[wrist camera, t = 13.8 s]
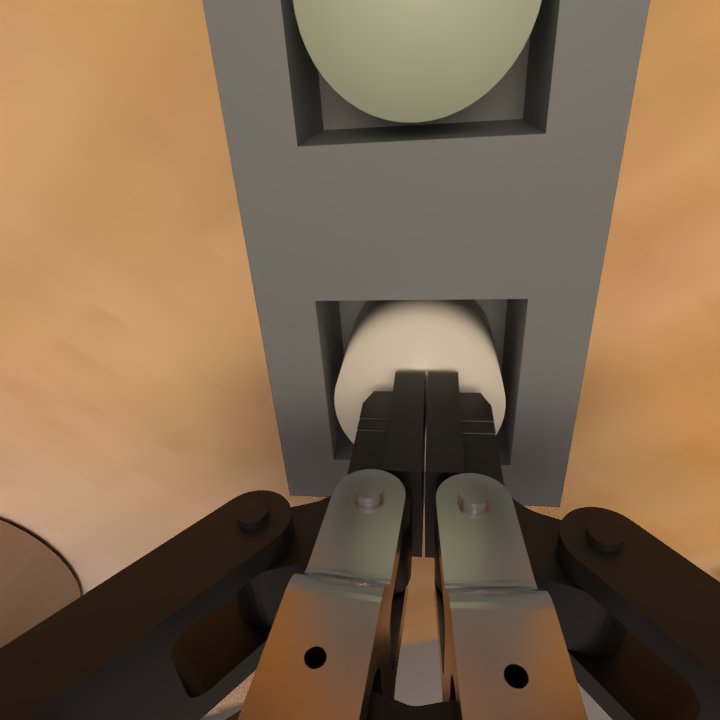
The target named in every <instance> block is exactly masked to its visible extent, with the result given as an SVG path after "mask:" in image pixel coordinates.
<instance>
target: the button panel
mask: <svg viewBox="0 0 720 720" xmlns="http://www.w3.org/2000/svg"><path fill="white" fill-rule="evenodd" d="M649 3H650V0H542V1H541V5H540V9H539V13H538V15H537V18H536V21H535V23H534V26H533V29H532V31H531V34H530V35H529V37H528V39H527V41H526V43H525V45H524V47H523V49H522V51H521V53H520V54H519V56H518V57H517V59H516V60H515V62H514V63H513V65H512V66H511V67H510V69H509V70H508V71H507V72H506V74H505V75H504V76H503V77H502V79H501V80H500V81H499V82H498V83H497V84H496V85H495V86H494V87H493V88H492V89H491V90H489V91H488V92H487V93H486V94H485V95H483V96H482V97H481V98H479V99H478V100H477V101H476V102H474V103H472V104H471V105H469V106H467V107H466V108H464V109H462V110H460V111H458V112H456V113H453V114H451V115H449V116H446V117H443V118H439V119H435V120H432V121H425V122H417V123H410V122H396V121H390V120H385V119H382V118H379V117H376V116H373V115H370V114H368V113H366V112H364V111H362V110H360V109H358V108H357V107H355V106H354V105H352V104H351V103H349V102H348V101H346V100H345V99H344V98H343V97H342V96H341V95H339V94H338V93H337V92H336V91H335V90H334V89H333V88H332V87H331V86H330V84H329V83H328V82H327V81H326V80H325V79H324V78H323V76H322V75H321V73H320V72H319V70H318V69H317V67H316V66H315V64H314V62H313V61H312V59H311V57H310V55H309V53H308V51H307V49H306V47H305V44H304V42H303V39H302V36H301V34H300V31H299V27H298V23H297V20H296V16H295V10H294V4H293V0H203V6H204V12H205V17H206V23H207V29H208V34H209V40H210V46H211V51H212V57H213V63H214V68H215V74H216V80H217V85H218V91H219V96H220V102H221V108H222V113H223V119H224V125H225V130H226V136H227V142H228V147H229V153H230V159H231V164H232V170H233V176H234V181H235V187H236V193H237V198H238V204H239V209H240V215H241V221H242V226H243V232H244V238H245V243H246V249H247V255H248V260H249V266H250V272H251V277H252V283H253V289H254V294H255V300H256V306H257V311H258V317H259V322H260V328H261V334H262V339H263V345H264V351H265V356H266V362H267V368H268V373H269V379H270V385H271V390H272V396H273V402H274V407H275V413H276V419H277V424H278V430H279V435H280V441H281V447H282V452H283V458H284V464H285V469H286V475H287V481H288V486H289V492H290V495H296V496H319V497H329V496H331V495H332V493H333V490H334V488H335V486H336V485H337V483H338V482H339V481H340V480H341V479H342V478H344V477H345V476H347V474H348V470H349V465H350V460H351V456H352V451H353V446H354V444H353V443H352V442H351V440H350V439H349V438H348V437H347V435H346V434H345V432H344V431H343V429H342V427H341V425H340V423H339V421H338V418H337V415H336V410H335V404H334V394H335V387H336V384H337V380H338V377H339V374H340V370H341V367H342V364H343V360H344V357H345V354H346V350H347V347H348V344H349V340H350V337H351V334H352V330H353V327H354V324H355V321H356V318H357V316H358V314H359V313H360V311H361V309H362V308H363V306H364V305H365V304H366V303H367V302H368V301H369V300H465V299H474V300H475V301H476V302H477V303H478V305H479V306H480V307H481V308H482V310H483V311H484V313H485V315H486V317H487V319H488V321H489V324H490V327H491V331H492V335H493V340H494V345H495V349H496V354H497V358H498V363H499V368H500V372H501V377H502V382H503V386H504V391H505V398H506V409H505V414H504V419H503V422H502V424H501V427H500V429H499V431H498V433H497V435H496V437H497V444H498V450H499V456H500V463H501V469H502V475H503V481H504V485H505V487H506V489H507V490H508V491H509V493H510V494H511V496H512V497H513V498H514V499H515V500H516V501H517V502H518V503H519V504H521V505H525V506H547V507H560V503H561V497H562V492H563V486H564V480H565V475H566V469H567V464H568V458H569V452H570V447H571V441H572V436H573V430H574V424H575V419H576V413H577V407H578V402H579V396H580V391H581V385H582V379H583V374H584V368H585V363H586V357H587V351H588V346H589V340H590V335H591V329H592V323H593V318H594V312H595V306H596V301H597V295H598V290H599V284H600V278H601V273H602V267H603V262H604V256H605V250H606V245H607V239H608V233H609V228H610V222H611V217H612V211H613V205H614V200H615V194H616V189H617V183H618V177H619V172H620V166H621V160H622V155H623V149H624V144H625V138H626V132H627V127H628V121H629V116H630V110H631V104H632V99H633V93H634V88H635V82H636V76H637V71H638V65H639V59H640V54H641V48H642V43H643V37H644V31H645V26H646V20H647V15H648V9H649ZM424 501H425V471H424Z"/></svg>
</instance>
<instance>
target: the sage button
mask: <svg viewBox="0 0 720 720" xmlns="http://www.w3.org/2000/svg"><path fill="white" fill-rule="evenodd" d="M541 1H542V0H293V4H294V10H295V16H296V20H297V23H298V27H299V31H300V34H301V36H302V39H303V42H304V44H305V47H306V49H307V51H308V53H309V55H310V57H311V59H312V61H313V62H314V64H315V66H316V67H317V69H318V70H319V72H320V73H321V75H322V76H323V78H324V79H325V80H326V81H327V82H328V83H329V84H330V86H331V87H332V88H333V89H334V90H335V91H336V92H337V93H338V94H339V95H341V96H342V97H343V98H344V99H345V100H346V101H348V102H349V103H351V104H352V105H354V106H355V107H357V108H358V109H360V110H362V111H364V112H366V113H368V114H370V115H373V116H376V117H379V118H382V119H385V120H390V121H396V122H410V123H417V122H425V121H432V120H435V119H439V118H443V117H446V116H449V115H451V114H453V113H456V112H458V111H460V110H462V109H464V108H466V107H467V106H469V105H471V104H472V103H474V102H476V101H477V100H478V99H479V98H481V97H482V96H483V95H485V94H486V93H487V92H488V91H489V90H491V89H492V88H493V87H494V86H495V85H496V84H497V83H498V82H499V81H500V80H501V79H502V77H503V76H504V75H505V74H506V72H507V71H508V70H509V69H510V67H511V66H512V65H513V63H514V62H515V60H516V59H517V57H518V56H519V54H520V53H521V51H522V49H523V47H524V45H525V43H526V41H527V39H528V37H529V35H530V34H531V31H532V29H533V26H534V23H535V21H536V18H537V15H538V13H539V9H540V5H541Z"/></svg>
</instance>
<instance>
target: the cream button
mask: <svg viewBox="0 0 720 720" xmlns="http://www.w3.org/2000/svg"><path fill="white" fill-rule="evenodd" d="M396 371H415V372H425V461H426V424H427V387H428V372H458V378H459V392H462V393H481V394H482V395H483V396H484V398H485V399H486V400H487V401H488V402H489V403H490V405H491V406H492V412H493V418H494V425H495V431H496V435H497V433H498V431H499V429H500V427H501V424H502V422H503V419H504V414H505V409H506V398H505V391H504V386H503V382H502V377H501V372H500V368H499V363H498V358H497V354H496V349H495V345H494V340H493V335H492V331H491V327H490V324H489V321H488V319H487V317H486V315H485V313H484V311H483V310H482V308H481V307H480V306H479V305H478V303H477V302H476V301H475V300H474V299H465V300H369V301H368V302H367V303H366V304H365V305H364V306H363V308H362V309H361V311H360V313H359V314H358V316H357V318H356V321H355V324H354V327H353V330H352V334H351V337H350V340H349V344H348V347H347V350H346V354H345V357H344V360H343V364H342V367H341V370H340V374H339V377H338V380H337V384H336V387H335V394H334V404H335V410H336V415H337V418H338V421H339V423H340V425H341V427H342V429H343V431H344V432H345V434H346V435H347V437H348V438H349V439H350V440H351V442H352V443H353V444H354V441H355V437H356V432H357V427H358V423H359V420H360V413H361V409H362V404H363V402H364V401H365V400H366V399H367V398H368V397H369V396H370V395H371V394H372V393H373V391H393V387H394V379H395V372H396ZM424 471H425V470H424Z"/></svg>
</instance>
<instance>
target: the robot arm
mask: <svg viewBox="0 0 720 720" xmlns="http://www.w3.org/2000/svg"><path fill="white" fill-rule="evenodd" d="M424 470H425V557H434V558H435V607H436V620H437V632H438V644H439V657H440V669H441V680H442V698H443V702H440V703H435V704H429V705H424V706H410V705H406V704H404V703H401V702H399V701H396V700H394V694H395V683H396V675H397V668H398V660H399V653H400V646H401V639H402V632H403V624H404V617H405V610H406V603H407V596H408V583H409V580H410V576H411V562H412V556H414V557H422V539H423V505H424ZM80 595H81V593H80V590H79V587H78V584H77V581H76V579H75V578H74V576H73V574H72V573H71V571H70V569H69V568H68V567H67V566H66V565H65V563H64V562H63V561H62V560H61V559H60V558H59V557H58V556H57V555H56V554H55V553H54V552H53V551H51V550H50V549H49V548H48V547H47V546H46V545H44V544H43V543H42V542H40V541H39V540H37V539H36V538H34V537H33V536H31V535H30V534H28V533H27V532H25V531H23V530H21V529H19V528H17V527H15V526H13V525H11V524H9V523H7V522H4V521H1V520H0V720H200V719H201V718H202V717H204V716H205V715H206V714H207V713H208V712H209V711H210V710H211V709H212V708H214V707H215V706H216V705H217V704H218V703H219V702H220V701H221V700H223V699H224V698H225V697H226V696H227V695H228V694H229V693H230V692H231V691H233V690H234V689H235V688H236V687H237V686H238V685H239V684H240V683H241V682H243V681H244V680H245V679H246V678H247V677H248V676H249V675H250V674H252V673H253V672H254V671H255V670H256V672H255V674H254V677H253V680H252V682H251V685H250V688H249V691H248V693H247V696H246V699H245V701H244V704H243V707H242V710H240V711H239V712H237V713H235V714H234V715H232V716H231V717H229V718H227V719H226V720H588V717H587V714H586V710H585V707H584V704H583V701H582V697H581V694H580V691H579V687H578V684H577V682H578V683H579V684H580V686H581V687H582V688H583V689H584V690H585V691H586V692H587V693H588V694H589V695H590V696H591V697H592V698H593V699H594V700H595V701H596V702H597V704H599V705H600V707H601V708H602V709H603V710H604V711H605V712H606V713H607V714H608V715H609V716H610V717H611V718H612V719H613V720H720V582H718V581H717V580H716V579H714V578H713V577H711V576H710V575H708V574H707V573H706V572H704V571H703V570H701V569H700V568H698V567H697V566H696V565H694V564H693V563H691V562H690V561H688V560H687V559H686V558H684V557H683V556H681V555H680V554H678V553H677V552H676V551H674V550H673V549H671V548H670V547H668V546H667V545H666V544H664V543H663V542H661V541H660V540H658V539H657V538H656V537H654V536H653V535H651V534H650V533H648V532H647V531H646V530H644V529H643V528H641V527H640V526H638V525H637V524H636V523H634V522H633V521H631V520H630V519H628V518H627V517H625V516H623V515H621V514H619V513H617V512H614V511H611V510H608V509H604V508H598V507H584V508H579V509H575V510H573V511H571V512H569V513H568V514H567V515H566V516H565V517H564V518H563V519H562V520H559V519H556V518H552V517H549V516H545V515H542V514H539V513H536V512H534V511H531V510H529V509H527V508H526V507H524V506H522V505H521V504H519V503H518V502H517V501H516V500H515V499H514V498H513V497H512V496H511V494H510V493H509V491H508V490H507V489H506V487H505V485H504V481H503V475H502V469H501V463H500V456H499V450H498V444H497V437H496V431H495V425H494V418H493V412H492V406H491V405H490V403H489V402H488V401H487V400H486V399H485V398H484V396H483V395H482V394H481V393H462V392H459V378H458V372H428V387H427V424H426V461H425V372H415V371H396V372H395V379H394V387H393V391H373V393H372V394H371V395H370V396H369V397H368V398H367V399H366V400H365V401H364V402H363V404H362V409H361V413H360V420H359V423H358V427H357V432H356V437H355V441H354V446H353V451H352V456H351V460H350V465H349V470H348V474H347V476H345V477H344V478H342V479H341V480H340V481H339V482H338V483H337V485H336V486H335V488H334V490H333V493H332V495H331V496H329V497H327V498H325V499H323V500H320V501H318V502H314V503H310V504H305V505H300V506H295V507H290V504H289V503H288V501H287V500H286V499H285V498H284V497H283V496H281V495H280V494H277V493H275V492H271V491H264V490H262V491H252V492H248V493H244V494H242V495H240V496H238V497H236V498H234V499H232V500H231V501H229V502H228V503H226V504H224V505H223V506H221V507H220V508H218V509H217V510H215V511H214V512H212V513H210V514H209V515H207V516H206V517H204V518H203V519H201V520H200V521H198V522H196V523H195V524H193V525H192V526H190V527H189V528H187V529H185V530H184V531H182V532H181V533H179V534H178V535H176V536H175V537H173V538H171V539H170V540H168V541H167V542H165V543H164V544H162V545H161V546H159V547H157V548H156V549H154V550H153V551H151V552H150V553H148V554H146V555H145V556H143V557H142V558H140V559H139V560H137V561H136V562H134V563H132V564H131V565H129V566H128V567H126V568H125V569H123V570H122V571H120V572H118V573H117V574H115V575H114V576H112V577H111V578H109V579H107V580H106V581H104V582H103V583H101V584H100V585H98V586H97V587H95V588H93V589H92V590H90V591H89V592H87V593H86V594H84V595H83V596H81V597H80Z"/></svg>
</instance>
